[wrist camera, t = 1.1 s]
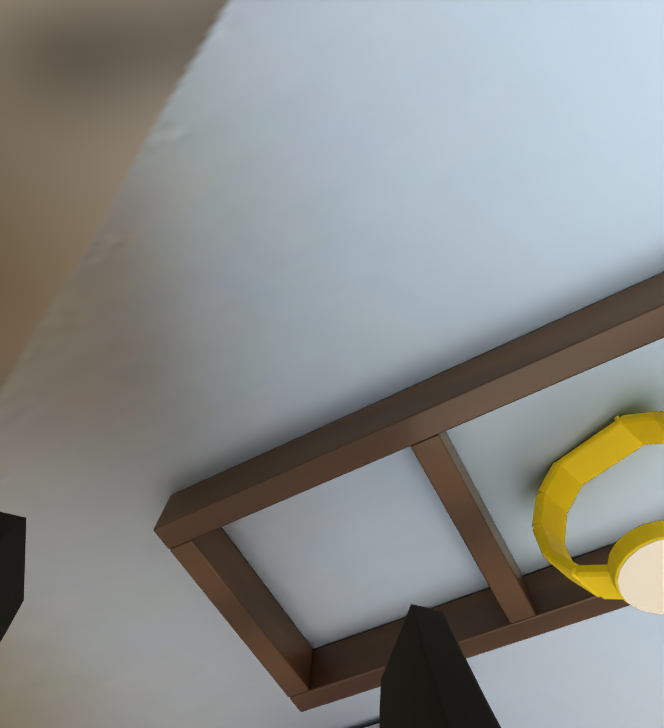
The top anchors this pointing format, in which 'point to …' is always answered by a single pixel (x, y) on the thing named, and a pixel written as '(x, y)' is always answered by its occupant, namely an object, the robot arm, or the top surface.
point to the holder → (451, 482)
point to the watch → (631, 552)
